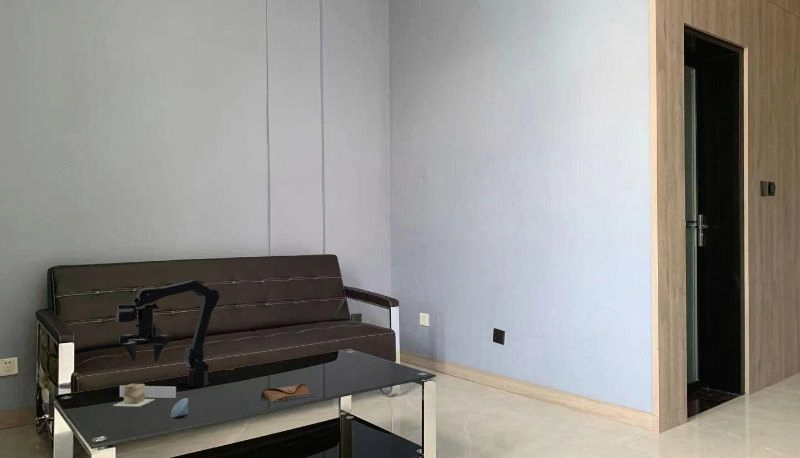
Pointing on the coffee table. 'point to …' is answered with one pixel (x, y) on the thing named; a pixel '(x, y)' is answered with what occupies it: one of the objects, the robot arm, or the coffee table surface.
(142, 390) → the maple block
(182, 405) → the gemstone
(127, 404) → the pad
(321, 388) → the coffee table surface
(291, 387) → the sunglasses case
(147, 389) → the frosted wall
